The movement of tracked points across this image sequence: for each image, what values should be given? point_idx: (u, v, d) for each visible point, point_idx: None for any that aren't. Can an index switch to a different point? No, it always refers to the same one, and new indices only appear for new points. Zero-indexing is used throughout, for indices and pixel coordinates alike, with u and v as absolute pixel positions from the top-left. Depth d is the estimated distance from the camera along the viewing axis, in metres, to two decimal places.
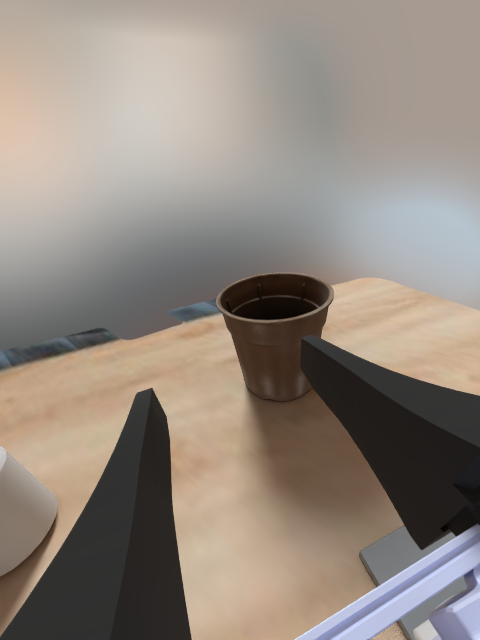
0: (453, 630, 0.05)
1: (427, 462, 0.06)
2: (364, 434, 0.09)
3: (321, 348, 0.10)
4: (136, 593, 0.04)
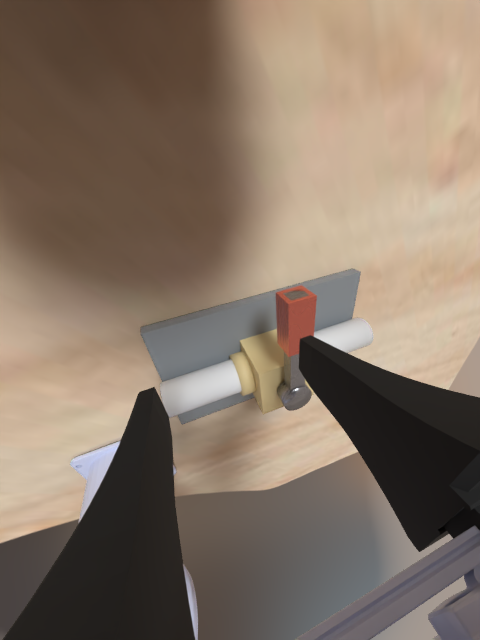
0: (453, 630, 0.05)
1: (424, 463, 0.06)
2: (362, 435, 0.09)
3: (319, 349, 0.10)
4: (141, 591, 0.04)
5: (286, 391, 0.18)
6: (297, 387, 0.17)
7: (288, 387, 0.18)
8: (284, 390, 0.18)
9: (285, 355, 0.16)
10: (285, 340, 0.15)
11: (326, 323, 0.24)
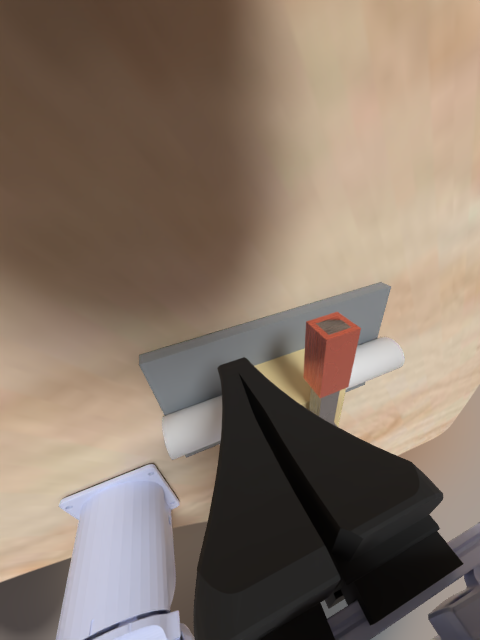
0: (453, 630, 0.05)
1: (314, 521, 0.06)
2: None
3: (244, 375, 0.09)
4: None
5: None
6: None
7: None
8: None
9: (313, 392, 0.14)
10: (316, 379, 0.12)
11: None
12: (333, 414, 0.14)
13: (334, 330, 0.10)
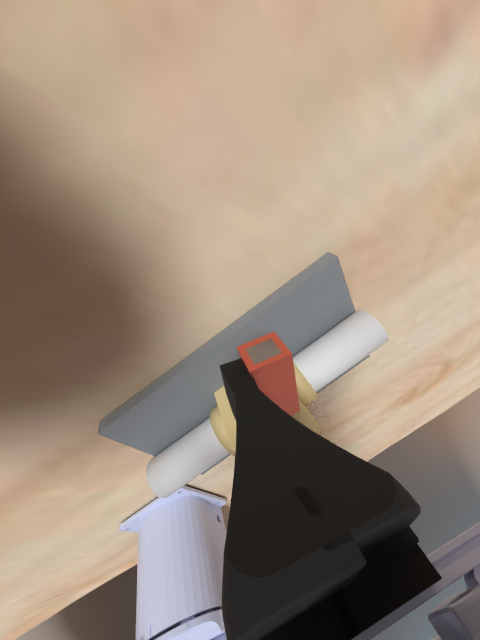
0: (453, 630, 0.05)
1: None
2: None
3: (230, 380, 0.09)
4: None
5: None
6: None
7: None
8: None
9: None
10: None
11: (319, 330, 0.18)
12: None
13: (262, 358, 0.09)
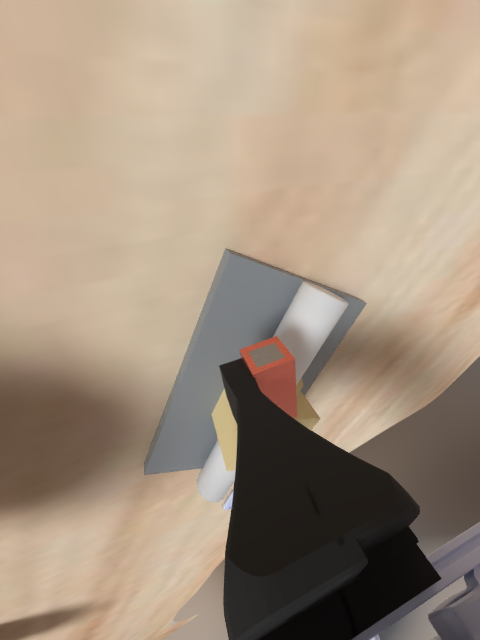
0: (453, 630, 0.05)
1: None
2: None
3: (230, 380, 0.09)
4: None
5: None
6: None
7: None
8: None
9: None
10: None
11: (274, 320, 0.16)
12: None
13: (265, 361, 0.09)
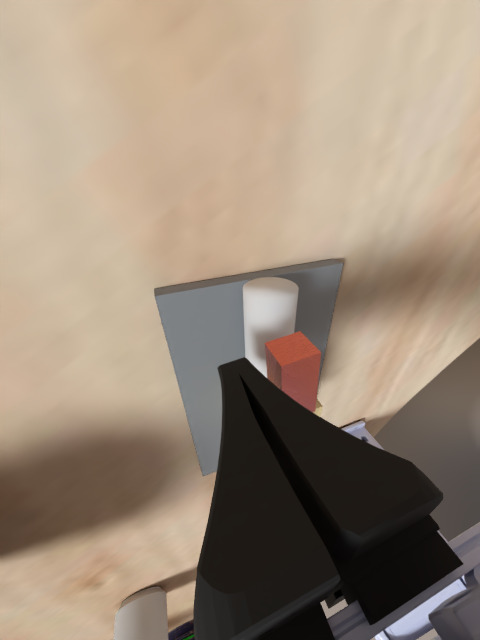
0: (453, 630, 0.05)
1: (314, 521, 0.06)
2: None
3: (244, 375, 0.09)
4: None
5: None
6: None
7: None
8: None
9: None
10: None
11: (241, 326, 0.15)
12: None
13: (292, 354, 0.10)
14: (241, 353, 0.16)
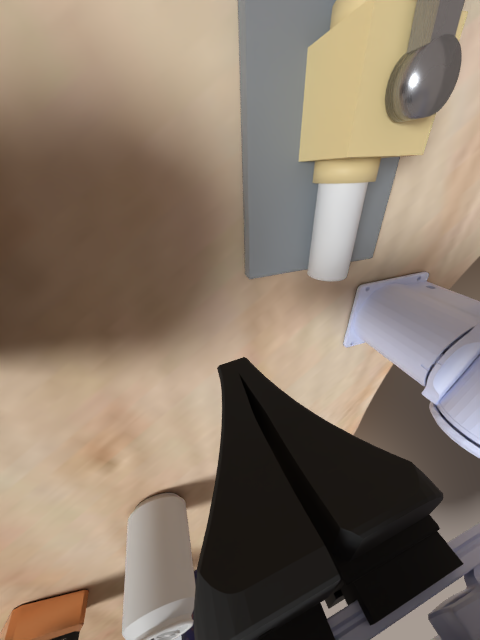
0: (453, 630, 0.05)
1: (314, 521, 0.06)
2: None
3: (244, 375, 0.09)
4: None
5: (418, 51, 0.09)
6: (445, 29, 0.09)
7: (423, 38, 0.09)
8: (411, 56, 0.09)
9: None
10: None
11: None
12: None
13: None
14: None
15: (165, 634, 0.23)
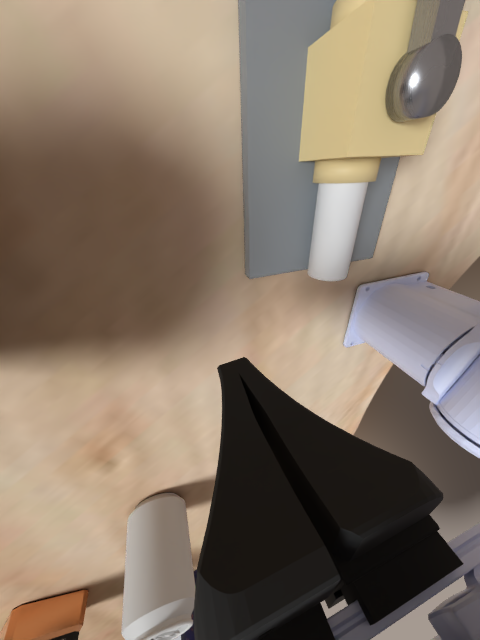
0: (453, 630, 0.05)
1: (314, 521, 0.06)
2: None
3: (244, 375, 0.09)
4: None
5: (418, 50, 0.09)
6: (445, 28, 0.09)
7: (424, 38, 0.09)
8: (411, 56, 0.09)
9: None
10: None
11: None
12: None
13: None
14: None
15: (165, 634, 0.23)
